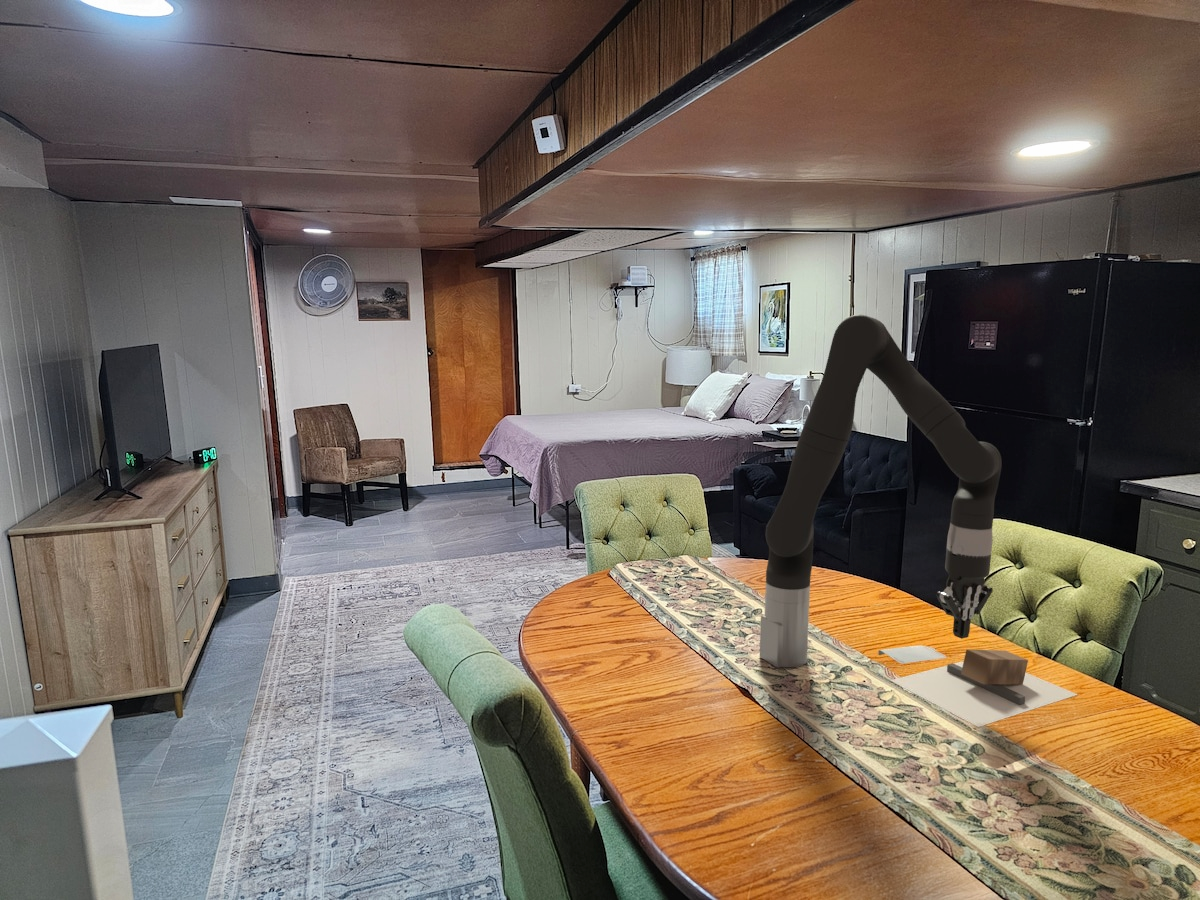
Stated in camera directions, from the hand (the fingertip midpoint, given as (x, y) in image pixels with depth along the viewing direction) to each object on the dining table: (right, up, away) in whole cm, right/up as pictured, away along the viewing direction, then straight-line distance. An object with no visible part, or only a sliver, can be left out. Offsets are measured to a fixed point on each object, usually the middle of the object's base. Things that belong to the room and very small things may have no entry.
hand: (960, 636), depth 141 cm
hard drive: (0, -11, +21) cm, 23 cm away
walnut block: (+4, -7, +3) cm, 8 cm away
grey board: (+7, -12, +5) cm, 15 cm away
